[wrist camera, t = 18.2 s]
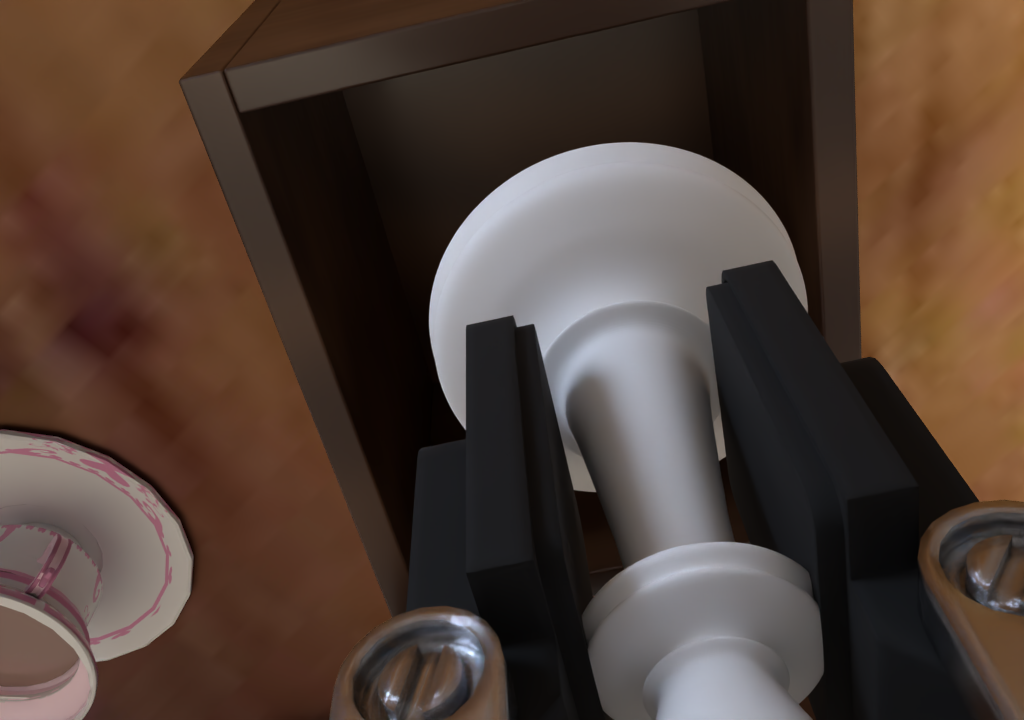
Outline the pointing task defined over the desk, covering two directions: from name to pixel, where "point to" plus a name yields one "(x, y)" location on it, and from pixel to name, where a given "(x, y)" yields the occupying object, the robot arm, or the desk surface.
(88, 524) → the teacup
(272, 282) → the chest
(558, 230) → the chess piece
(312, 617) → the desk surface
